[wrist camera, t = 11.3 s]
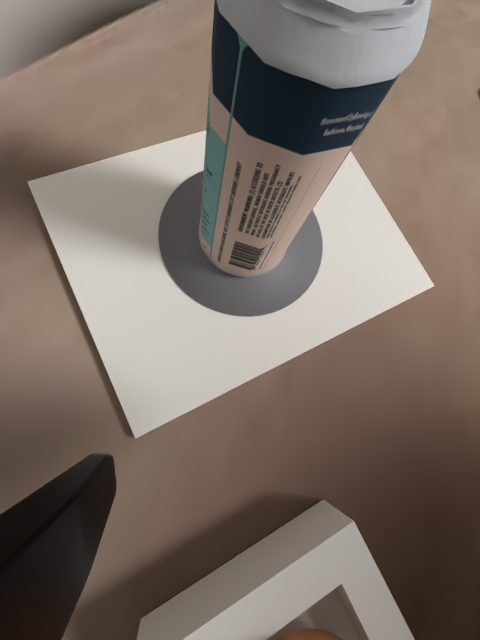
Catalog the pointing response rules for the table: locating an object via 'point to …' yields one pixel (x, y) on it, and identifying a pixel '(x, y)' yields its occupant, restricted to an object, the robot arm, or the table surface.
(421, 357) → the table surface
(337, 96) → the beer can
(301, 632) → the button
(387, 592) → the button housing
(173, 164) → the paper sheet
